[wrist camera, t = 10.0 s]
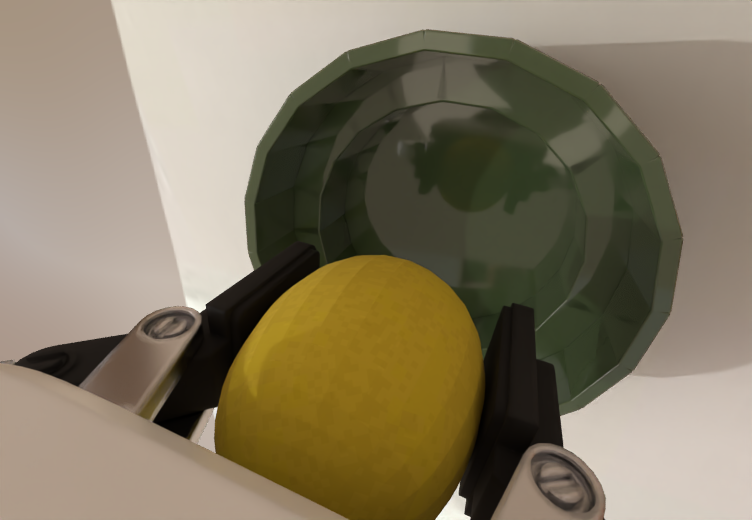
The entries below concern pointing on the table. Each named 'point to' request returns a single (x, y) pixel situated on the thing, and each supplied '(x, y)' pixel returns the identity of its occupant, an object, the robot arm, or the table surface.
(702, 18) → the table surface
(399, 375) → the lemon
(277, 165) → the green round bowl
